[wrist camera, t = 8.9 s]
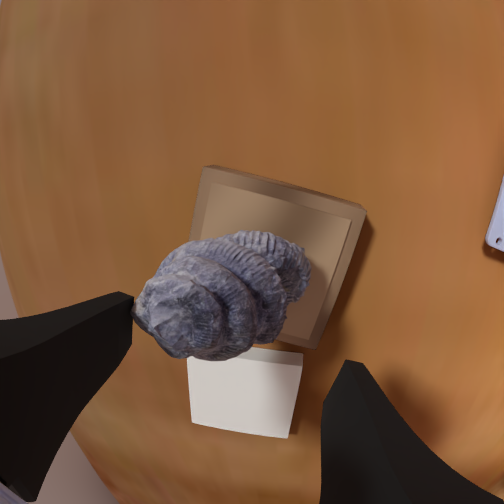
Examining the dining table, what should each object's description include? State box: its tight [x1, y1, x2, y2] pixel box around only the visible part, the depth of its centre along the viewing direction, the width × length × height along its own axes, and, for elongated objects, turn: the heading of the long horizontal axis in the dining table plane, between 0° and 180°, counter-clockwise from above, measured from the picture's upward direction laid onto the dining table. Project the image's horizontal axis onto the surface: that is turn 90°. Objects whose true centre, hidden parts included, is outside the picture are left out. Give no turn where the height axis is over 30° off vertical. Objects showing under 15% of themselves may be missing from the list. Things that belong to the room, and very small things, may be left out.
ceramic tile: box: [187, 347, 303, 438], centre depth 23 cm, size 8×8×2 cm
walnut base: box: [189, 165, 367, 350], centre depth 19 cm, size 9×9×2 cm
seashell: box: [130, 230, 312, 361], centre depth 13 cm, size 5×5×10 cm
